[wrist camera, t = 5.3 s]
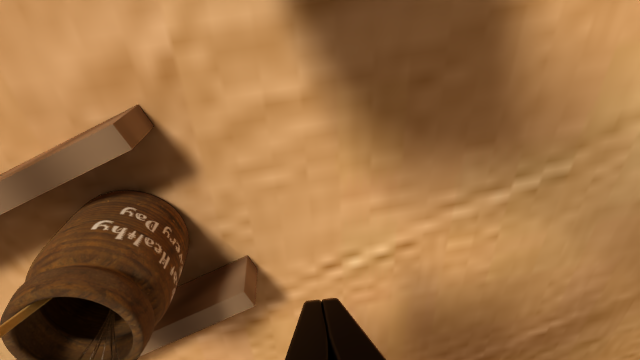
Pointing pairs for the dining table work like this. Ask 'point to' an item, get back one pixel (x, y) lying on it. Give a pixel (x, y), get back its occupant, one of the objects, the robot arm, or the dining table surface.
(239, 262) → the tray
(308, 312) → the robot arm
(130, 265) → the utensil holder
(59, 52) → the dining table surface
